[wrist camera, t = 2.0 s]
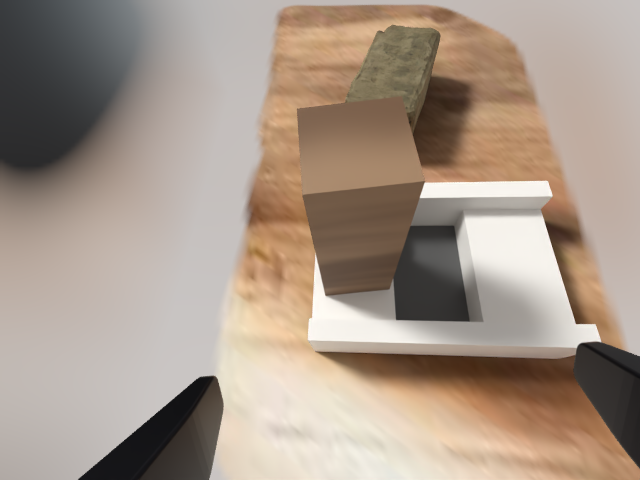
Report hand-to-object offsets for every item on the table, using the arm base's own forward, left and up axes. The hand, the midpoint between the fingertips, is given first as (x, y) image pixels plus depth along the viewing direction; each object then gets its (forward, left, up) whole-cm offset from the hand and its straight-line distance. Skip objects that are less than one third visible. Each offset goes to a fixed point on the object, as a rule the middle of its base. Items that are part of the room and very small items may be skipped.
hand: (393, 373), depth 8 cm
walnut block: (+4, +6, -11) cm, 13 cm away
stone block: (+18, +16, -14) cm, 28 cm away
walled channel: (+8, +3, -13) cm, 16 cm away
